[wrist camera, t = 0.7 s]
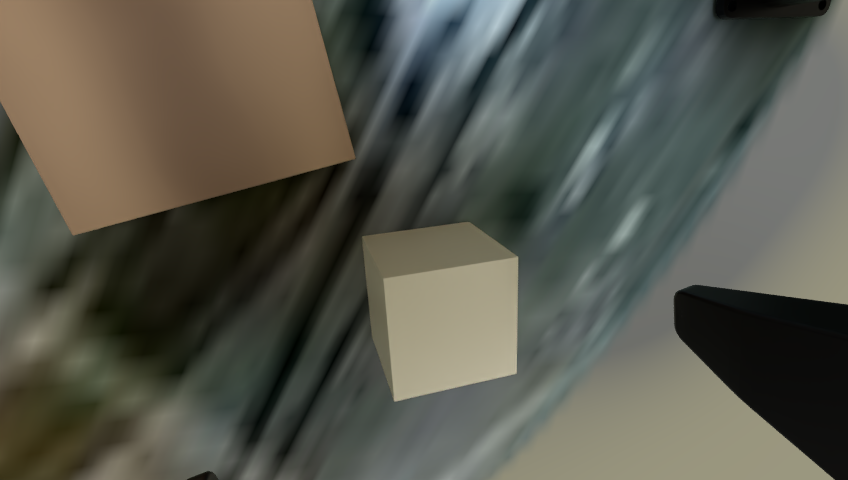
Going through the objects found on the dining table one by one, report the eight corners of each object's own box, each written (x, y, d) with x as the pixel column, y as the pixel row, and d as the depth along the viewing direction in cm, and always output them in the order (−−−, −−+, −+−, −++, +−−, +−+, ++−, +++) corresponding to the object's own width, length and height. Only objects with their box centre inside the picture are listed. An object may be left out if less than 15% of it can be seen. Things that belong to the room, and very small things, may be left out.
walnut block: (271, -111, 16) (267, -163, 12) (344, 147, 19) (355, 158, 16) (-23, -66, 14) (-115, -113, 11) (113, 208, 17) (73, 235, 14)
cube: (468, 221, 21) (518, 257, 17) (470, 316, 23) (516, 373, 18) (361, 235, 20) (383, 278, 15) (371, 335, 21) (394, 401, 17)
